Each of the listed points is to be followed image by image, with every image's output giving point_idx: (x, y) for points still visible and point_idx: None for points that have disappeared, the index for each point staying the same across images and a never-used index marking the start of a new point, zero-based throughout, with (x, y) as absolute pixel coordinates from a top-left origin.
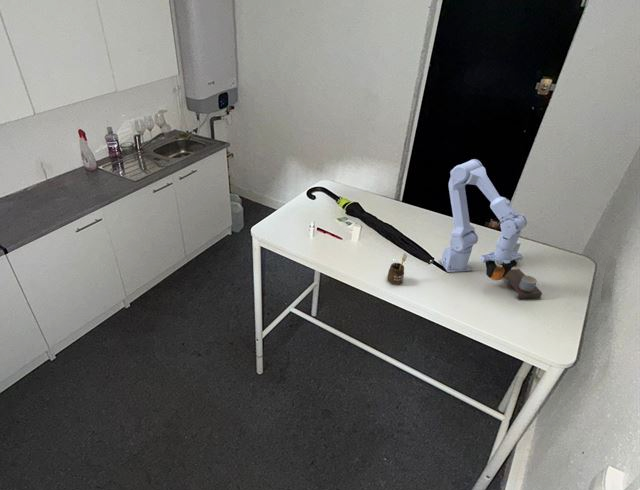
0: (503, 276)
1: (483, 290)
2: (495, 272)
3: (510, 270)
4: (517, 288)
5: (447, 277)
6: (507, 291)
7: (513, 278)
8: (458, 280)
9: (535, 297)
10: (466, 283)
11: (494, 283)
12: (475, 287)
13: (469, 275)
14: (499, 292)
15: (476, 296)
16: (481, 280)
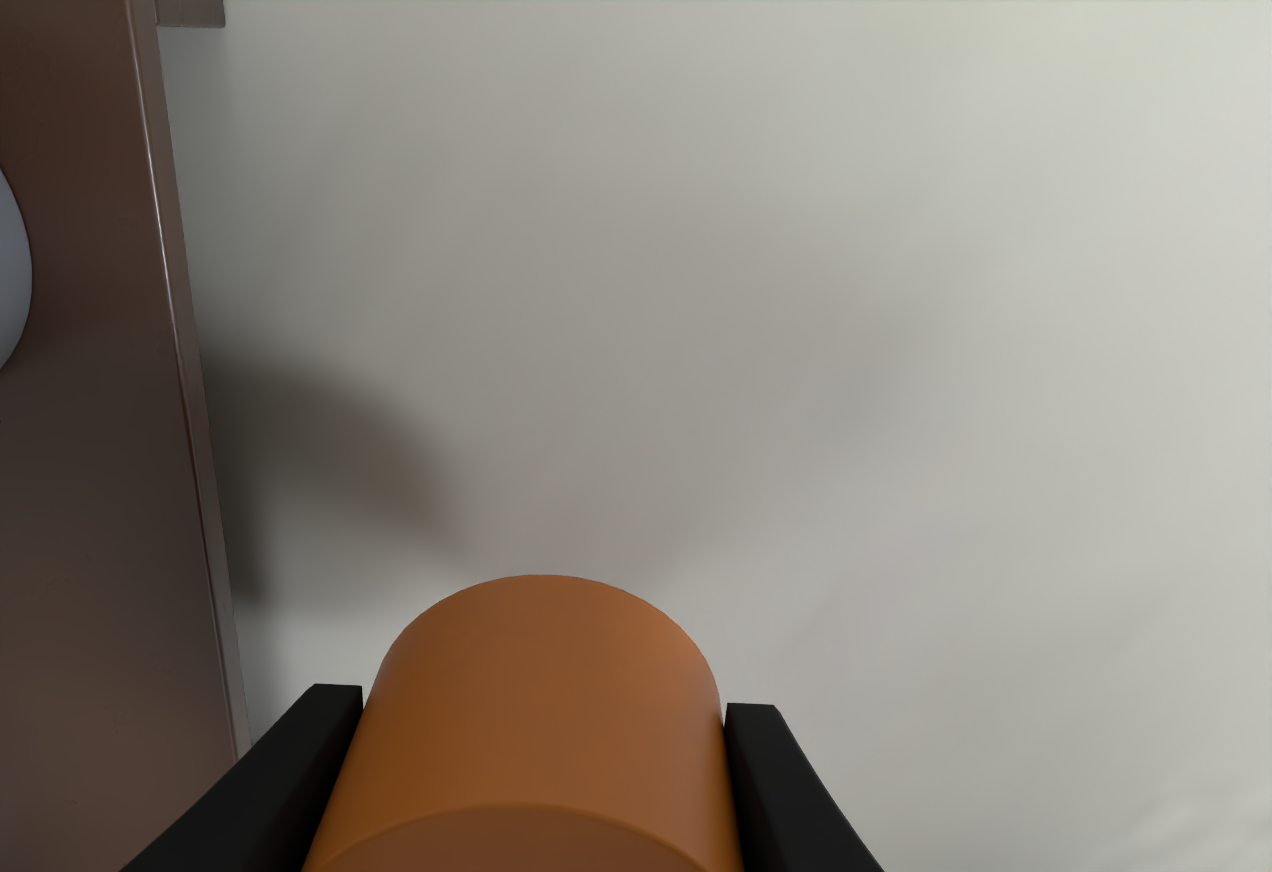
0: (339, 686)
1: (869, 421)
2: (698, 836)
3: (5, 867)
4: (106, 227)
5: (1258, 846)
6: (348, 307)
7: (47, 624)
8: (1132, 756)
9: None
10: (1052, 664)
11: None
12: (967, 533)
13: None
14: (555, 302)
15: (1178, 247)
16: None
